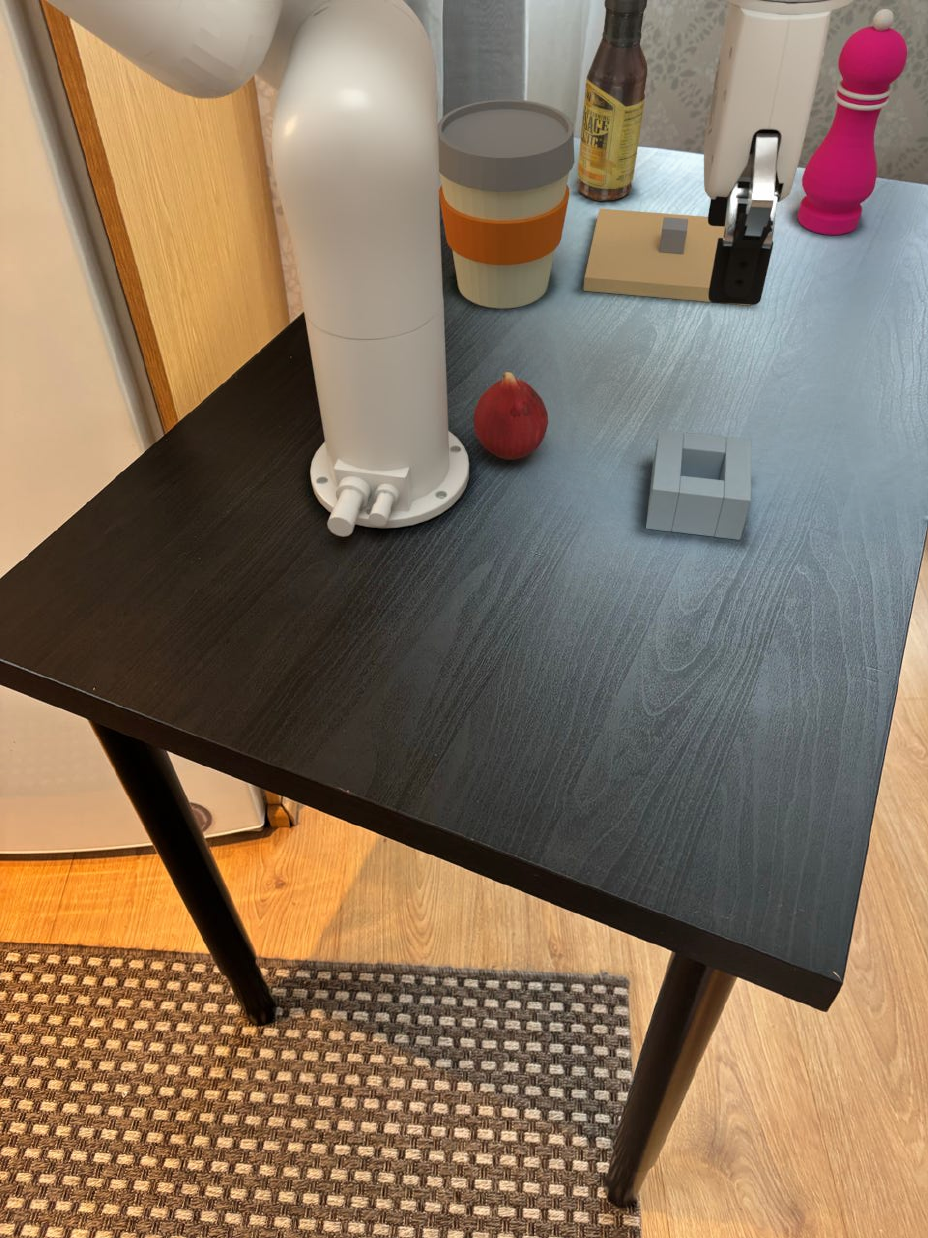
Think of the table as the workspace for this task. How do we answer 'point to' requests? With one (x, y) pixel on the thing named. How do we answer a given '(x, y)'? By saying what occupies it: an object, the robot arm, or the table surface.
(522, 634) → the table surface
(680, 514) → the gray block
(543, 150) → the reusable coffee cup
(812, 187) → the pepper mill
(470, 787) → the table surface
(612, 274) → the base pad
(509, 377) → the onion
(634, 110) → the sauce bottle
